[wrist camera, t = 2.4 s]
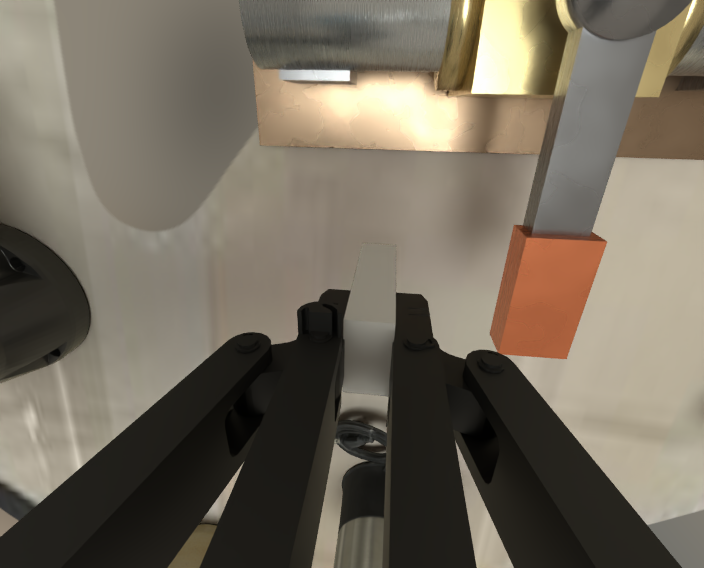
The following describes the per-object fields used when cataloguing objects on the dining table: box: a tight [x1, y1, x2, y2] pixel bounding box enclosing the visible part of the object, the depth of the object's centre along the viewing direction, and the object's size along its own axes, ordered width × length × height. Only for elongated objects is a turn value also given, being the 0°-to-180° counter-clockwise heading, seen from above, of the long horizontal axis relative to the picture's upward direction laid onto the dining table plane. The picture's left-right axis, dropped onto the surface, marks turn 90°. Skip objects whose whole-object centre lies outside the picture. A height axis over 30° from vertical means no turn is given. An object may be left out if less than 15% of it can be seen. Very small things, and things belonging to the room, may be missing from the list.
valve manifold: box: [239, 0, 704, 160], centre depth 18 cm, size 34×14×12 cm, turn 89°
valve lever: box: [490, 0, 692, 359], centre depth 15 cm, size 17×4×2 cm, turn 179°
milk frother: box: [334, 420, 387, 568], centre depth 36 cm, size 14×16×15 cm
